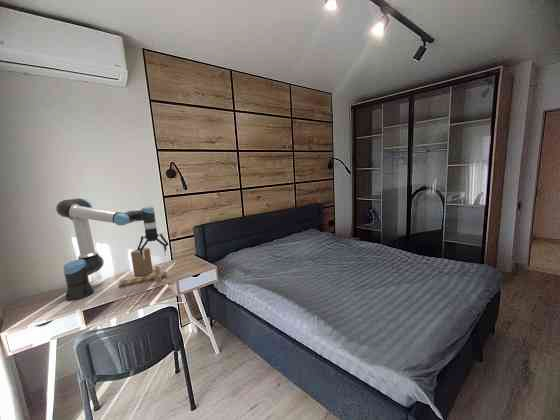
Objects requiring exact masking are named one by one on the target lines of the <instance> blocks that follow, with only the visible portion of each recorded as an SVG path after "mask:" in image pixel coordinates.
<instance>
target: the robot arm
mask: <svg viewBox="0 0 560 420" xmlns="http://www.w3.org/2000/svg"><path fill="white" fill-rule="evenodd" d="M55 210H56V214H57V215H59V216H60V217H63V218H67V219H69V221H72V223H73V228H74V232H75V237H76V241H77V246H78V250H79V255H78V257H77V259H75V260H71V261H69V262H67V263H66V264H65V265H63V273H64V278H65V283H66V292H65V300H66V301H68V302H72V301H78V300H81V299H85V298H87V297H90V296H91V295H94V293H95V289H94V287H93V286H92V284H91V282H90V281H89V276H90V275H93V274H94V273H96V272H98V271H100V270H101V269H102V268H103V266H104V259H103V257H102V256H101V255H99V252H98V251H96V250H95V245H94V240H93V236H92V235H93V234H92V231H91V227H90V221H89V220H92V221H99V222H104V223H105V222H106V223H113V224H115V225H117V226H125V225H128V224H131V223H135V222H141V221H142V222H143V226H144V233H145V235H144V236H143V235H141V236H140V241H139V244H138V246H137V249H136V250H140V252H141V255H143V260H144V259H145V256H144V250H142V249H143V248H145V246H146V245H147V244H148V243H149V242H155V241H157V242H158V243H160V244H161V246H162V247H163V257H164V256H166V252H167V246H169V242H168V241H167V240H166V237H164V235H163V233H162V232H161V233H158V230H157V229H158V228H157V222H156V216H155V208H154V207H153V205H152V206H142V207H141V209H140V210H126V211H125V212H121V211H120V212H118V211H114V210H107V209H100V208H95V207H93V205H92V203H91V202H90V201H89V200H88V199H85V198H72V199H71V198H70V199H64V200H61V201H59V202H58V203H57V205H56V209H55ZM158 237H160V238H161V240H162V241H161V240H160V239H159V238H158ZM143 240H145V242H144V243H143ZM142 243H143V244H142ZM141 245H142V246H141Z"/></svg>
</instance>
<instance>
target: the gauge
mask: <svg viewBox="0 0 560 420" xmlns="http://www.w3.org/2000/svg"><path fill="white" fill-rule="evenodd" d="M152 269H153V271H152V272H153V274H154V278H155V280H154V282H155V283H154V284H156V283H162V279H161V273H162V272H161V267H160V266H155V267H152Z"/></svg>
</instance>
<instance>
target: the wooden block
mask: <svg viewBox="0 0 560 420" xmlns="http://www.w3.org/2000/svg"><path fill="white" fill-rule="evenodd" d="M142 250H144V256H145V259H144V260H143V255H141V252H140V250H137V249H134V250H133V251H131V252H130V255H131V256H130V257H131V262H132V269H133V275H134V277H142V276H147V275H150V274H152V272H154V271H153V264H152V262H153V261H152V256H151V252H150V251H151V250H150V248H145V247H144V248H143V249H142Z"/></svg>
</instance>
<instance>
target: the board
mask: <svg viewBox="0 0 560 420" xmlns="http://www.w3.org/2000/svg"><path fill="white" fill-rule="evenodd" d="M160 273H161V280H162V279H167V277H168V276H167V272H166V271H162V272H160ZM153 281H155V278H154V273H153V274H152V273H151V274H148V275H146V276H136V277H134V278H128V279H123V280H120V281H119V282H118V288H119V289H121V288H125V287H129V286H134V285H139V284H143V283H148V282H153Z"/></svg>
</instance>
